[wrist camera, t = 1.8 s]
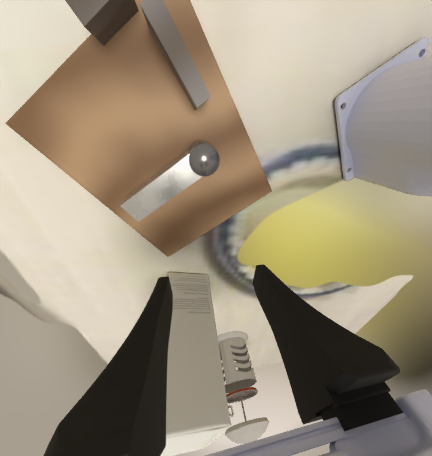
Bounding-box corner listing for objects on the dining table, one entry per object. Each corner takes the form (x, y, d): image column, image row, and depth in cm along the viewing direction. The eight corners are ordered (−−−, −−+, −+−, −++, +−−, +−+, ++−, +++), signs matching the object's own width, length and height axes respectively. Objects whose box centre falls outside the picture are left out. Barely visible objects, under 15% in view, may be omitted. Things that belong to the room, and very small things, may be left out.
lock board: (268, 188, 19) (283, 199, 16) (168, 251, 21) (166, 271, 19) (167, -41, 10) (160, -111, 7) (12, 119, 12) (-41, 118, 9)
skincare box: (197, 304, 29) (208, 447, 16) (159, 304, 27) (137, 466, 14) (209, 272, 25) (237, 429, 12) (165, 269, 23) (143, 451, 10)
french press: (229, 352, 44) (271, 558, 23) (195, 347, 38) (209, 609, 18) (255, 335, 40) (331, 556, 20) (222, 326, 35) (278, 617, 14)
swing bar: (204, 134, 14) (208, 136, 12) (218, 158, 15) (225, 165, 13) (126, 193, 16) (116, 205, 13) (145, 211, 17) (139, 225, 14)
